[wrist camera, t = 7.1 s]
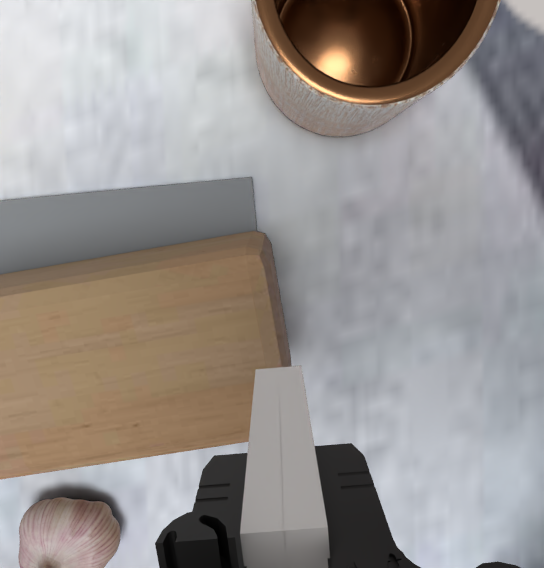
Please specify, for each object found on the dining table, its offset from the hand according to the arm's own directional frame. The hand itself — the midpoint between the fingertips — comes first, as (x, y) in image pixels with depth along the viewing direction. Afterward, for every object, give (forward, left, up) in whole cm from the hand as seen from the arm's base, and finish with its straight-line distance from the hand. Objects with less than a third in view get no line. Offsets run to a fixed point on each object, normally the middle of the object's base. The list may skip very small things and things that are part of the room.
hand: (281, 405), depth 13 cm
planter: (-6, -15, -17) cm, 23 cm away
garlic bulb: (+18, +18, -17) cm, 30 cm away
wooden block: (0, 0, -11) cm, 11 cm away
